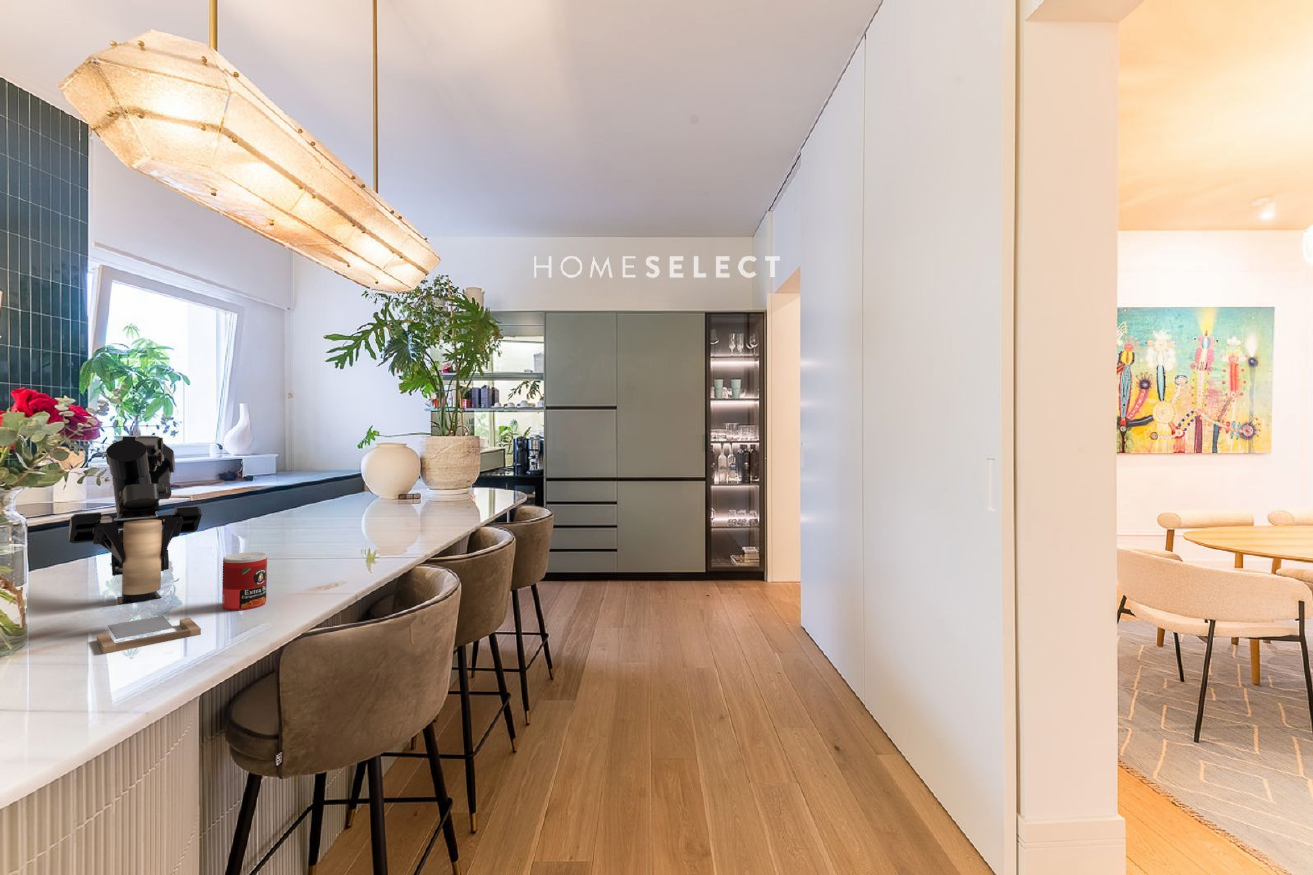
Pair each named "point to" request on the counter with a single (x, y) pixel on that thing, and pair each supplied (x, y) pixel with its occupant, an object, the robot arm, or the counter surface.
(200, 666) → the counter surface
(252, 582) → the canned food
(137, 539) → the pepper mill
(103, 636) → the walnut frame
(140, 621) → the slate mat
